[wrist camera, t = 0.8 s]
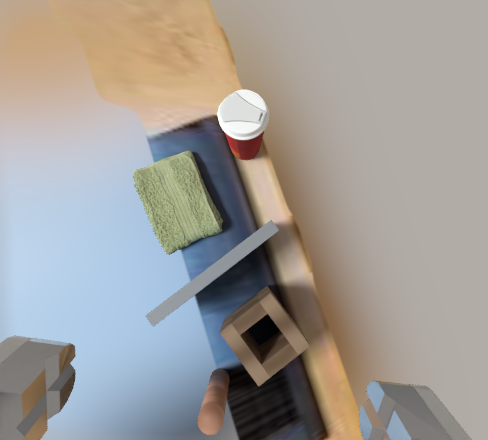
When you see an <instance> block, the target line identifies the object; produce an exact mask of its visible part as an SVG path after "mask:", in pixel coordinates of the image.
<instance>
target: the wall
mask: <svg viewBox="0 0 488 440" xmlns="http://www.w3.org/2000/svg"><path fill="white" fill-rule="evenodd" d="M278 231H279V229H278V228H277V226H276V225H275V224H274V223H273V221H272V220H271V221H269V222H268V223H267V224H265V225H264V226H263V227H261V228H260V229H259V230H257V231H256V232H255V233H254V234H252V235H251V236H250V237H248V238H247V239H246V240H244V241H243V242H242V243H240V244H239V245H238V246H236V247H235V248H234V249H233V250H231V251H230V252H229V253H227V254H226V255H225V256H223V257H222V258H221V259H219V260H218V261H217V262H215V263H214V264H213V265H212V266H210V267H209V268H208V269H206V270H205V271H204V272H202V273H201V274H200V275H198V276H197V277H196V278H194V279H193V280H192V281H191V282H189V283H188V284H187V285H185V286H184V287H183V288H181V289H180V290H179V291H178V292H176V293H175V294H174V295H172V296H171V297H170V298H168V299H167V300H166V301H164V302H163V303H162V304H161V305H159V306H158V307H156V308H155V309H154V310H153V311H151V312H150V313H149V314H147V315H146V317H147V319H148V320H149V322H150V323H151V325H152V326H155V325H156V324H157V323H159V322H160V321H161V320H163V319H164V318H165V317H166V316H168V315H169V314H170V313H172V312H173V311H174V310H176V309H177V308H178V307H180V306H181V305H182V304H183V303H185V302H186V301H187V300H188V299H190V298H191V297H193V296H194V295H195V294H197V293H198V292H199V291H201V290H202V289H203V288H204V287H206V286H207V285H208V284H210V283H211V282H212V281H214V280H215V279H216V278H218V277H219V276H220V275H221V274H223V273H224V272H225V271H227V270H228V269H229V268H231V267H232V266H233V265H235V264H236V263H237V262H238V261H240V260H241V259H242V258H244V257H245V256H246V255H248V254H249V253H250V252H252V251H253V250H254V249H255V248H257V247H258V246H259V245H261V244H262V243H263V242H265V241H266V240H267V239H269V238H270V237H271V236H272V235H274V234H275V233H276V232H278Z"/></svg>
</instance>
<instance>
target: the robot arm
mask: <svg viewBox="0 0 488 440" xmlns="http://www.w3.org/2000/svg"><path fill="white" fill-rule="evenodd" d="M74 357H75V346H74V345H73V344H71V343H64V342H57V341H50V340H44V339H37V338H27V337H21V336H12V337H9V338H7V339H5V340H4V341H3V342H2V343H0V440H40V439H41V438H42V436H43V435H44V434H45V432H46V431H47V420H48V419H49V418H51V417H52V416H54V415H55V414H57V413H59V412H60V411H61V409H62V408H63V406H64V405H65V403H66V402H67V400H68V398H69V396H70V393H71V392H72V389H73V385H74V382H75V369H74V368H73V367H72V365H71V364H70V362H71V361H72V360H73V359H74ZM366 392H367V394H368V396H369V399H368V400H367V401H366V402H364V403H363V404H362V406H361V410H360V413H359V421H360V429H361V433H362V437H363V439H364V440H471V438H470V437H469V436H468V434H467V433H466V432H465V431H464V429H463V428H462V427H461V426H460V424H459V423H458V422H457V421H456V420H455V418H454V417H453V416H452V415H451V413H450V412H449V411H448V409H447V408H446V407H445V406H444V404H443V403H442V402H441V401H440V399H439V398H438V397H437V396H436V395H435V393H434V392H433V391H432V390H431V389H430V388H428V387H427V386H421V385H411V384H407V385H406V384H400V383H391V382H382V381H374V380H373V381H371V382H370V383H369V385H368V387H367V390H366Z"/></svg>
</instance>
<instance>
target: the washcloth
mask: <svg viewBox="0 0 488 440" xmlns="http://www.w3.org/2000/svg"><path fill="white" fill-rule="evenodd" d="M133 178H134V182H135V187H136V189H137V192H138V194H139V195H140V199H141V201H142V202H143V205H144V207H145V210H146V212H147V215H148V218H149V220H150V222H151V224H152V226H153V227H152V228H153V231H154V232H155V235H156V236H157V239H158V240H159V242H160V244H161V246H162V247H163V249H164V251H165V252H166V253H167V254H169V255H170V254H172V253H174V252H175V251H177V250H180V249H182V248H183V247H186V246H188V245H190V244H191V243H192V242H194V241H196V240H198V239H200V238H205V237H209V236H212V235H216V234H218V233H220V232H221V231H222V223H223V219H221V217H220V213H219V212H218V210H217V208H216V206H215V205H214V204H213V201H212V199H211V197H210V195H209V193H208V192H207V189H206V187H205V185H204V184H205V183H204V181H203V179H202V178H201V175H200V171H199V169H198V166H197V163H196V161H195V158H194V156H193V154H192V152H191V151H186V152H183V153H181V154H178V155H175V156H171V157H168V158H164V159H162V160H160V161H158V162H155V163H154V164H153V165H150V166H148V167H145V168H141V169H136V170H134V176H133Z"/></svg>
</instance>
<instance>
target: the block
mask: <svg viewBox="0 0 488 440" xmlns="http://www.w3.org/2000/svg"><path fill="white" fill-rule="evenodd" d="M267 314H268V315H269V316H270V317H271V319H272V320H273V321H274V323H275V324H276V325H277V327H278V328H279V329H280V330H279V331H278V332H277V333H275V334H274V335H273V336H272V337H270V338H269V339H268V340H267V341H265V342H264V343H263V344H261V345H260V346H259V344H258V343H257V342H256V340H255V339H254V338H253V336H252V335H251V334H250V332H249V331H248V329H249V328H250V327H251V326H252V325H254V324H255V323H256V322H258V321H259V320H260V319H261V318H263V317H264V316H265V315H267ZM220 334H221V335H222V336H223V338H224V339H225V341H226V342H227V343H228V345H229V346H230V347H231V349H232V350H233V352H234V353H235V354H236V356H237V357H238V359H239V360H240V361H241V363H242V364H243V366H244V367H245V368H246V370H247V371H248V373H249V374H250V375H251V377H252V378H253V379H254V381H255V382H256V384H257V385H258V386H260V385H261V384H263V383H264V382H265V381H266V380H268V379H269V378H270V377H271V376H273V375H274V374H275V373H277V372H278V371H279V370H280V369H282V368H283V367H284V366H285V365H287V364H288V363H289V362H290V361H292V360H293V359H294V358H295V357H297V356H298V355H299V354H300V353H302V352H303V351H304V350H306V349H307V348H308V347H309V346H310V345H309V343H308V342H307V340H306V338H305V337H304V335H303V333H302V332H301V330H300V329H299V327H298V326H297V325H296V323H295V322H294V321H293V319H292V318H291V317H290V315H289V314H288V313H287V311H286V310H285V309H284V307H283V306H282V305H281V303H280V302H279V301H278V299H277V298H276V297H275V295H274V294H273V293H272V291H271V290H270V289H269V287H268V286H266V287H265V288H264V289H262V290H261V291H260V292H258V293H257V294H256V295H254V296H253V297H252V298H251V299H249V300H248V301H247V302H245V303H244V304H243V305H242V306H240V307H239V308H238V309H236V310H235V311H234V312H233V313H231V314H230V315H229V316H227V317H226V318H225V319H224V322H223V324H222V327H221V330H220Z"/></svg>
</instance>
